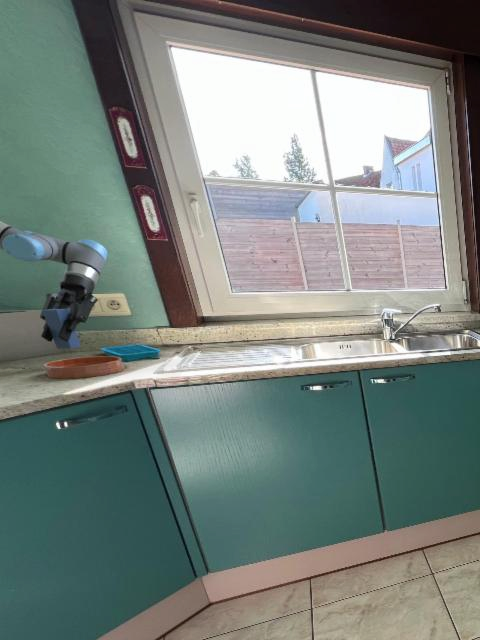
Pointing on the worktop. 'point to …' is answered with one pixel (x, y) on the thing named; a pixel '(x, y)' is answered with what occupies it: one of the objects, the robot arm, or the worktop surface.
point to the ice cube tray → (132, 352)
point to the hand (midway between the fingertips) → (54, 338)
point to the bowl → (84, 367)
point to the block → (55, 324)
